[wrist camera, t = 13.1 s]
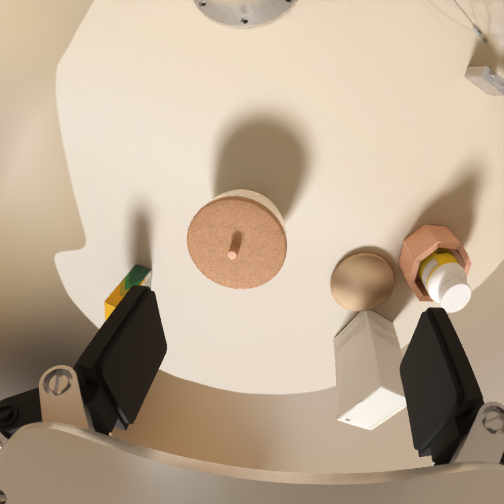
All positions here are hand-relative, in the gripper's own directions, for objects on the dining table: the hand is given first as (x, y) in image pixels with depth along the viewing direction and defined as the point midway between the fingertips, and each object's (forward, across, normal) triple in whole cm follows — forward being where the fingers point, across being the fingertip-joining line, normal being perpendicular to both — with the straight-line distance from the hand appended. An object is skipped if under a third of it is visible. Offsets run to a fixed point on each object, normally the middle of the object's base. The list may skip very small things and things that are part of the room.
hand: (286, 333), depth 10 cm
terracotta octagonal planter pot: (+28, -19, +11) cm, 36 cm away
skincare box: (+28, -12, +25) cm, 40 cm away
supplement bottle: (+28, -19, +11) cm, 35 cm away
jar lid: (+28, -10, +16) cm, 34 cm away
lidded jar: (+28, +6, +8) cm, 30 cm away
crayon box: (+28, +23, +20) cm, 42 cm away
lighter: (+28, -24, -13) cm, 39 cm away
